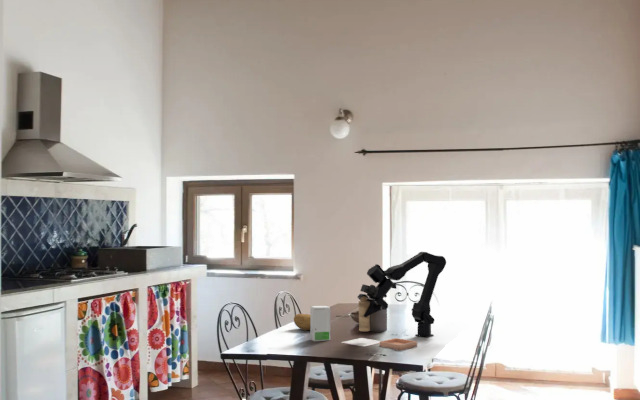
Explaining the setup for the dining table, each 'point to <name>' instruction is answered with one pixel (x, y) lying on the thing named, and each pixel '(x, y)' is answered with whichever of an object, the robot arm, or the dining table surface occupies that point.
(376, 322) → the pillar candle
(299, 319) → the potato
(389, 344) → the terracotta dish
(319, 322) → the skincare box
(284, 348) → the dining table surface
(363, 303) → the pepper mill
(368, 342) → the felt mat
